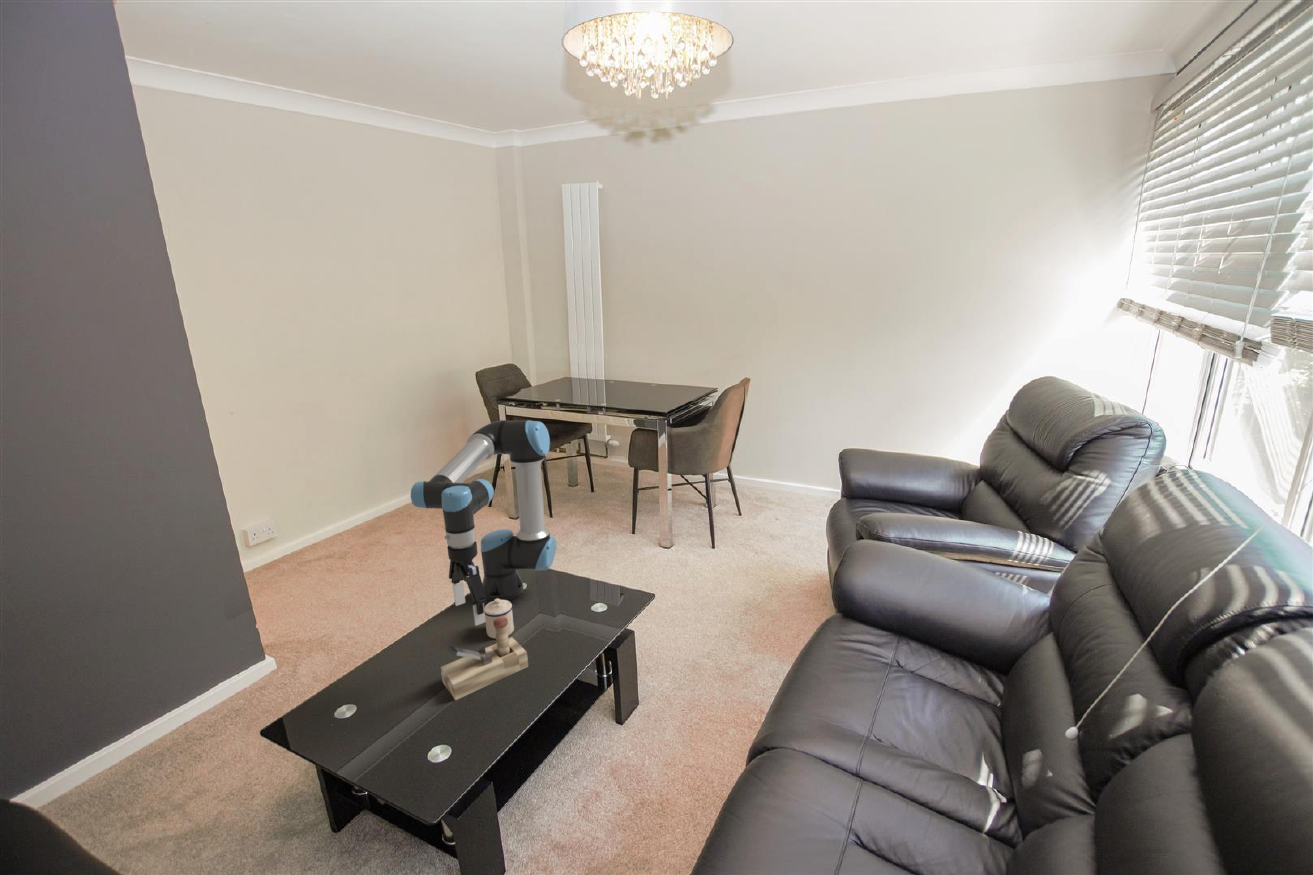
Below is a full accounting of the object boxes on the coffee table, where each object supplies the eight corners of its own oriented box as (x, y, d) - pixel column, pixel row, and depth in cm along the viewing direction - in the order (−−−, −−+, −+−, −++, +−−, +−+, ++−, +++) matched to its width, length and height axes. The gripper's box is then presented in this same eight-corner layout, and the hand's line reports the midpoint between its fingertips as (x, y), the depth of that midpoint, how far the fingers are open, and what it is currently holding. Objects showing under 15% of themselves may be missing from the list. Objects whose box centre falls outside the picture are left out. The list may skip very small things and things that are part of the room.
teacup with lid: (520, 627, 193) (517, 596, 190) (500, 642, 185) (497, 610, 182) (493, 618, 199) (490, 587, 196) (473, 632, 191) (469, 600, 188)
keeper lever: (447, 649, 163) (448, 645, 163) (482, 655, 170) (483, 652, 170) (451, 654, 160) (452, 650, 161) (486, 660, 168) (488, 657, 168)
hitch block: (442, 682, 168) (439, 660, 166) (513, 651, 181) (511, 630, 179) (455, 700, 160) (452, 677, 158) (528, 666, 173) (526, 645, 171)
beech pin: (496, 665, 174) (491, 620, 171) (508, 659, 177) (503, 615, 173) (501, 671, 171) (496, 626, 167) (514, 665, 174) (509, 621, 170)
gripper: (431, 533, 165) (440, 600, 170) (467, 562, 146) (475, 637, 152) (457, 526, 169) (465, 592, 175) (495, 553, 151) (502, 626, 156)
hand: (470, 613), depth 163 cm, fingers open, 13 cm apart
